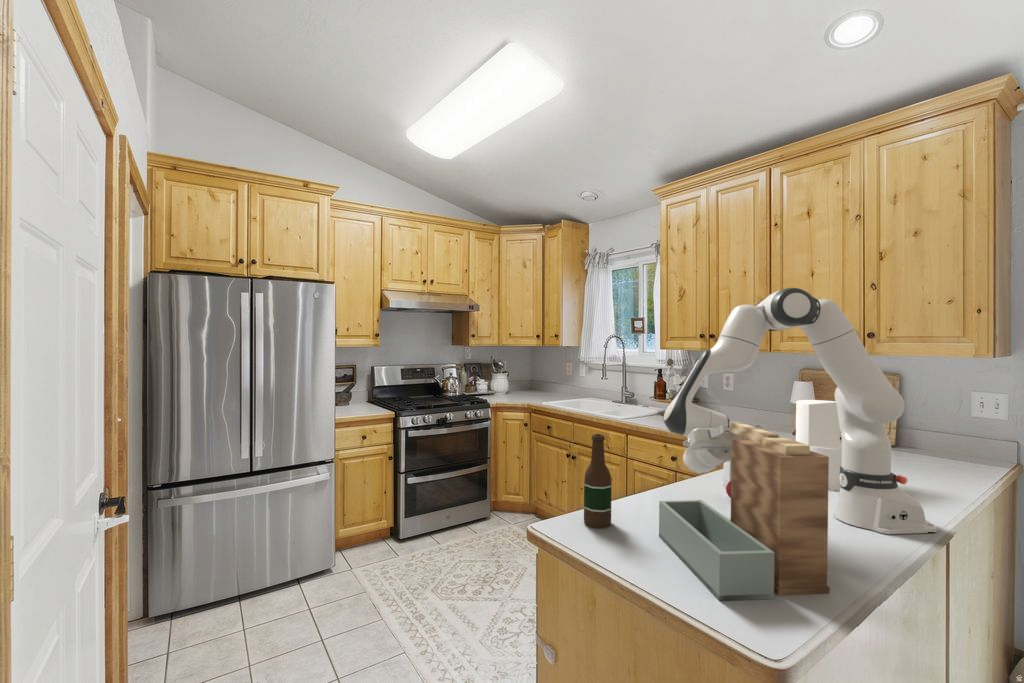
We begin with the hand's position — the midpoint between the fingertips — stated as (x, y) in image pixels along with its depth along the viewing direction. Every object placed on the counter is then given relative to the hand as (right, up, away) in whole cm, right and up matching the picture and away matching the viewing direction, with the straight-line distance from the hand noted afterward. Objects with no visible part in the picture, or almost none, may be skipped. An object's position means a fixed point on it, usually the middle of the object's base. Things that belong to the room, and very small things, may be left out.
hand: (743, 428), depth 117 cm
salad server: (+1, -2, -8) cm, 8 cm away
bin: (-12, -29, -9) cm, 32 cm away
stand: (+1, -29, -13) cm, 31 cm away
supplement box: (+19, -29, +44) cm, 56 cm away
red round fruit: (+13, -29, +32) cm, 45 cm away
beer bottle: (-33, -29, +14) cm, 46 cm away
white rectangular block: (+53, -29, +52) cm, 80 cm away
